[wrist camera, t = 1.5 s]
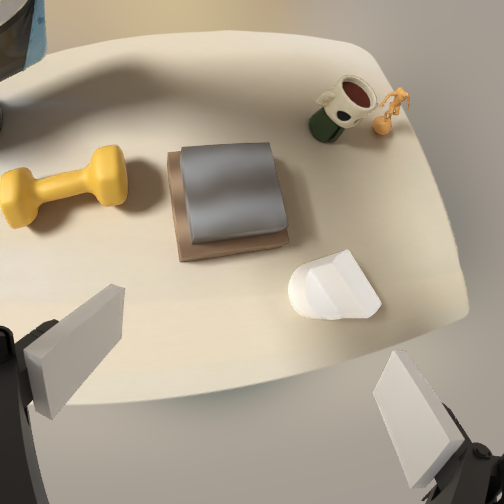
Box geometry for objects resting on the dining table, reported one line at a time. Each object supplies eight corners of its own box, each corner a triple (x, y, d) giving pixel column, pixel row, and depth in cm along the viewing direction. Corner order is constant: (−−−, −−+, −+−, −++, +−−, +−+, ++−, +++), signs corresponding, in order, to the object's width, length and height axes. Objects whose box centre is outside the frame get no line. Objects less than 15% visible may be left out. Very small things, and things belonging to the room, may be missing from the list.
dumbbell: (126, 157, 44) (121, 129, 36) (132, 212, 43) (127, 192, 35) (17, 182, 38) (-4, 160, 31) (17, 237, 37) (-6, 223, 30)
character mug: (299, 143, 53) (335, 103, 40) (292, 111, 54) (324, 68, 42) (350, 149, 56) (391, 116, 44) (342, 118, 57) (379, 82, 45)
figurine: (366, 138, 58) (402, 109, 46) (355, 113, 58) (388, 81, 47) (393, 138, 60) (429, 112, 49) (383, 114, 61) (416, 87, 50)
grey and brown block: (167, 164, 46) (169, 138, 38) (260, 157, 50) (277, 133, 43) (179, 262, 44) (183, 252, 36) (279, 247, 48) (301, 235, 41)
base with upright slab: (348, 295, 50) (395, 290, 39) (309, 331, 47) (352, 335, 36) (318, 250, 50) (361, 234, 39) (276, 284, 47) (313, 275, 36)
